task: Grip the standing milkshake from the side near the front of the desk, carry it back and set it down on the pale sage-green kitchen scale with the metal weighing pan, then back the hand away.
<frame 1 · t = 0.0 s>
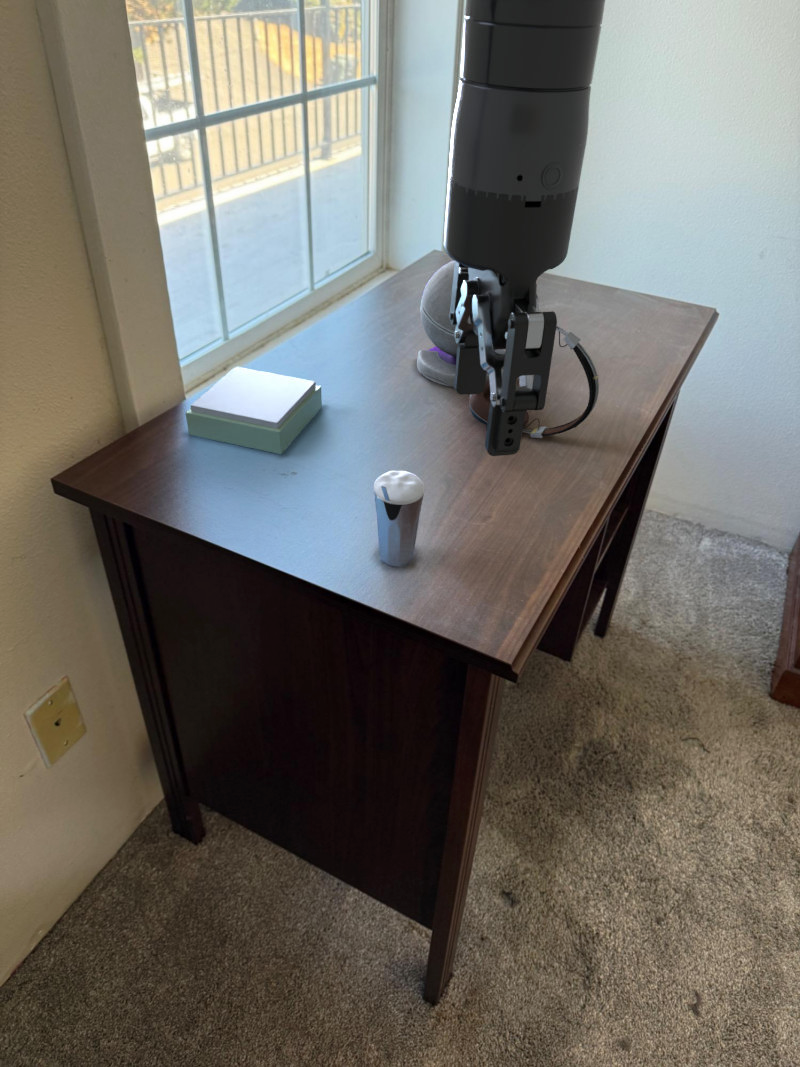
hand: (484, 420, 53), 20 cm above the table, tool pointing down, fingers open, 8 cm apart
scale: (257, 420, 91), on the table
webcam: (463, 369, 105), on the table
milkshake: (394, 560, 72), on the table
headphones: (498, 426, 93), on the table
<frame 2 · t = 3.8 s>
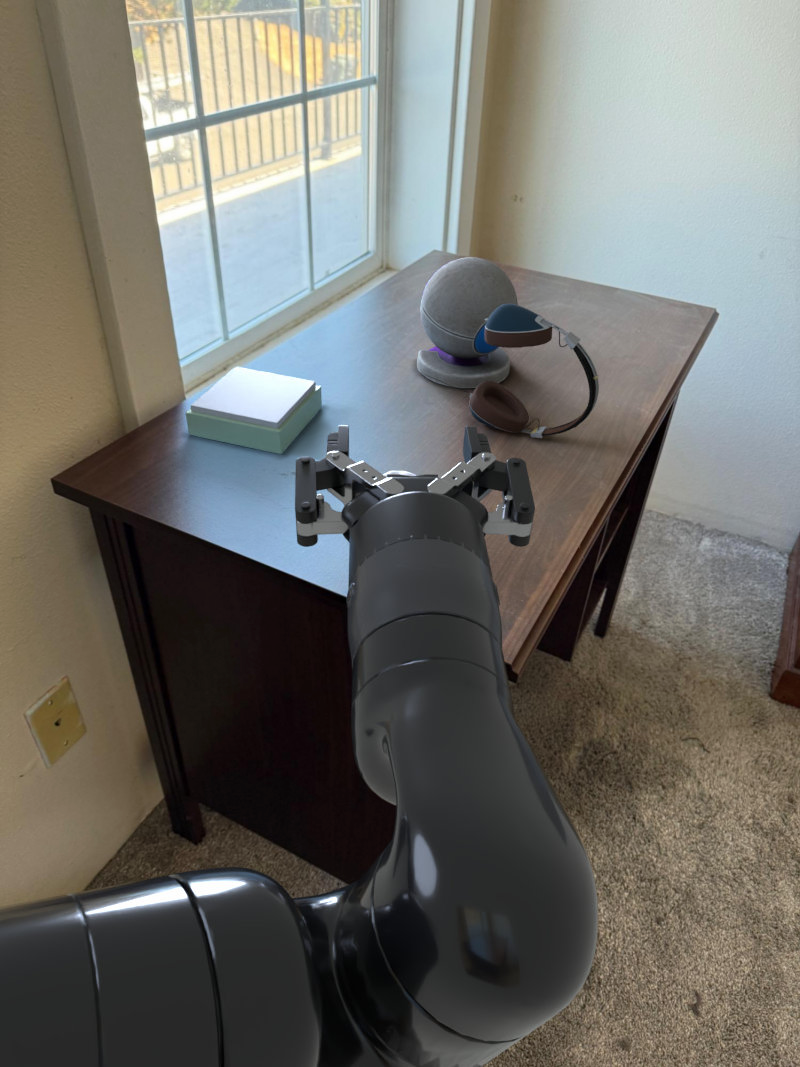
hand: (407, 437, 51), 20 cm above the table, tool horizontal, fingers open, 8 cm apart
nothing on the table moved.
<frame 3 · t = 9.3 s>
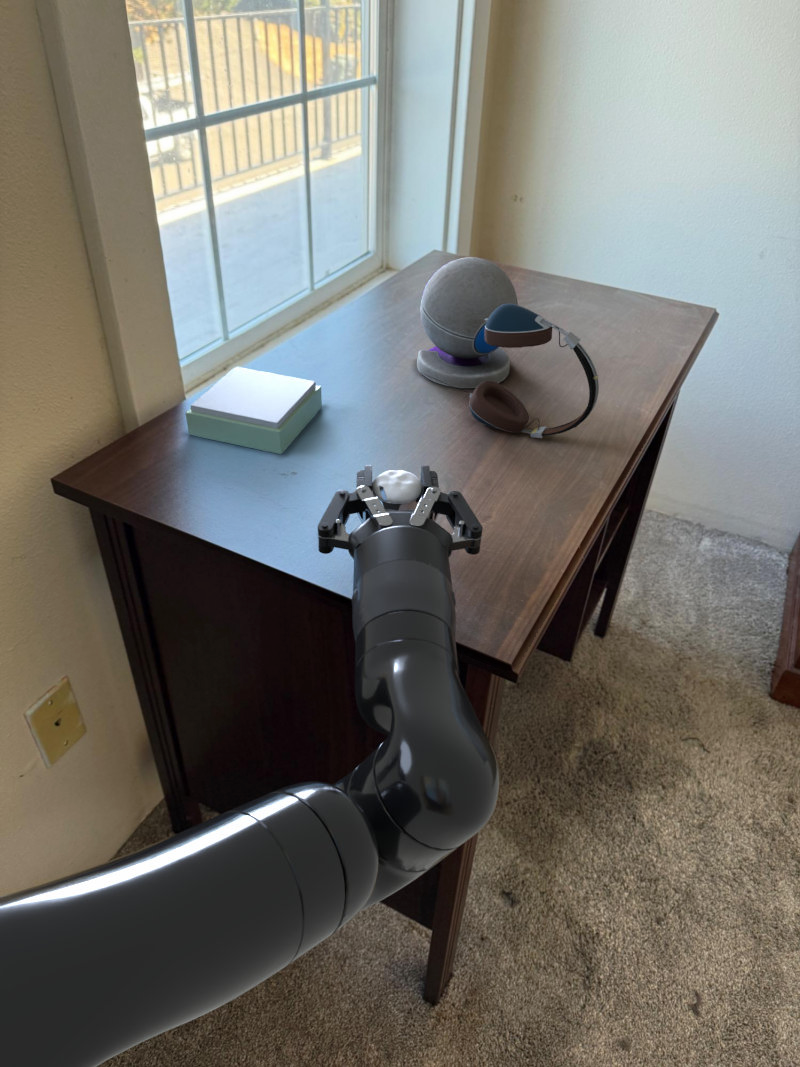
hand: (396, 473, 69), 8 cm above the table, tool horizontal, fingers closed on milkshake, 4 cm apart
milkshake: (394, 560, 72), on the table, touching gripper
everything else where it was.
when the fingers open (12 cm above the table, at t = 18.4 s): milkshake stays where it is, resting on scale.
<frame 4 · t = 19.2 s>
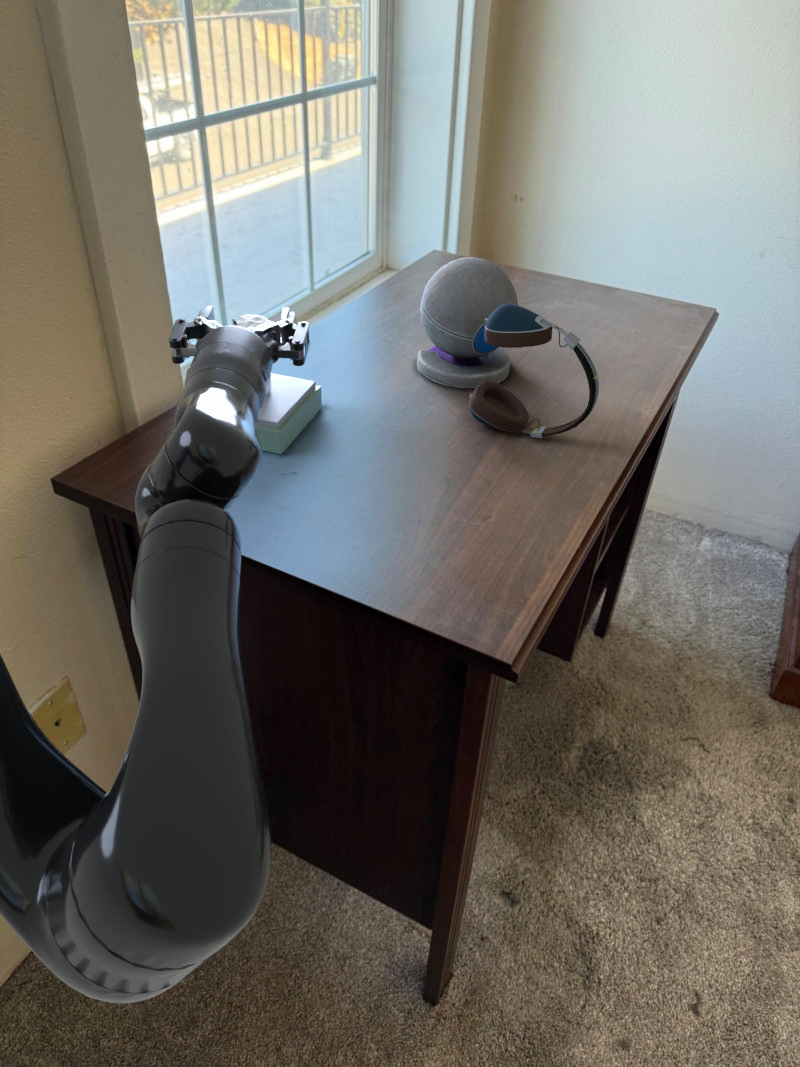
hand: (249, 314, 85), 13 cm above the table, tool horizontal, fingers open, 8 cm apart
milkshake: (255, 394, 89), point 4 cm above the table, touching scale
everything else where it was.
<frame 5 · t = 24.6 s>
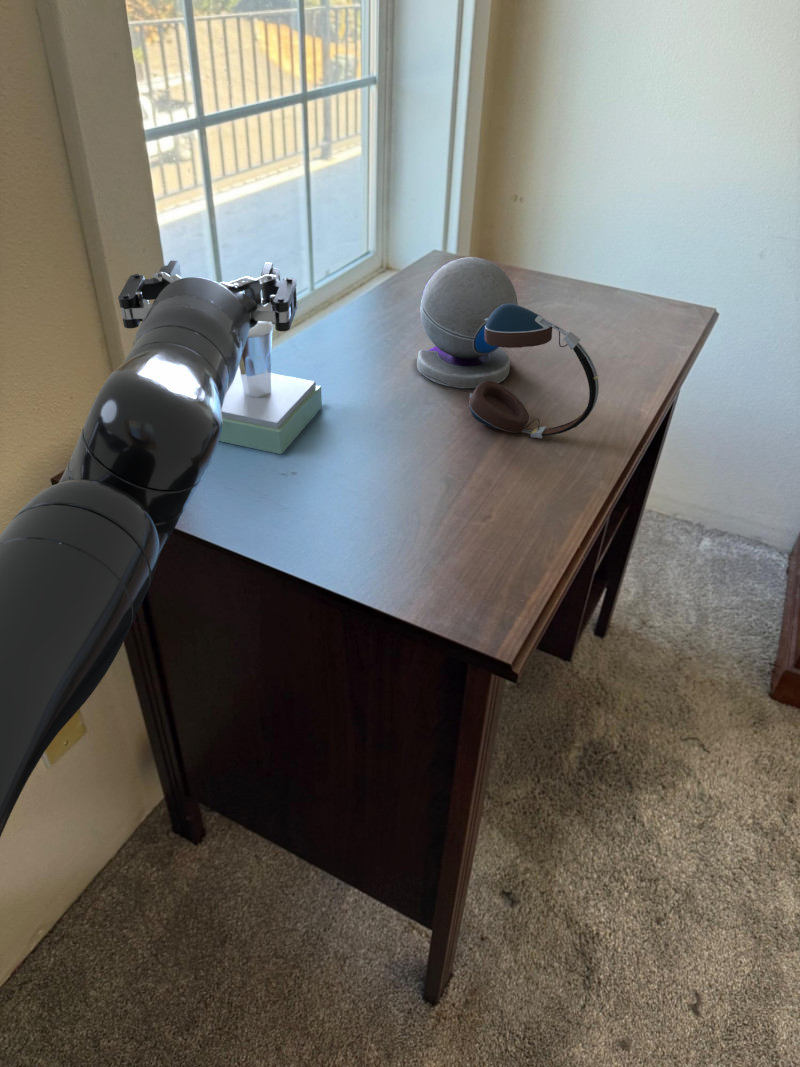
hand: (223, 272, 69), 22 cm above the table, tool horizontal, fingers open, 8 cm apart
nothing on the table moved.
at the end: milkshake inside the target area on the scale (0.1 cm from its centre), point 3.6 cm above the scale's base; milkshake tilted 0°; the gripper is holding nothing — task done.
